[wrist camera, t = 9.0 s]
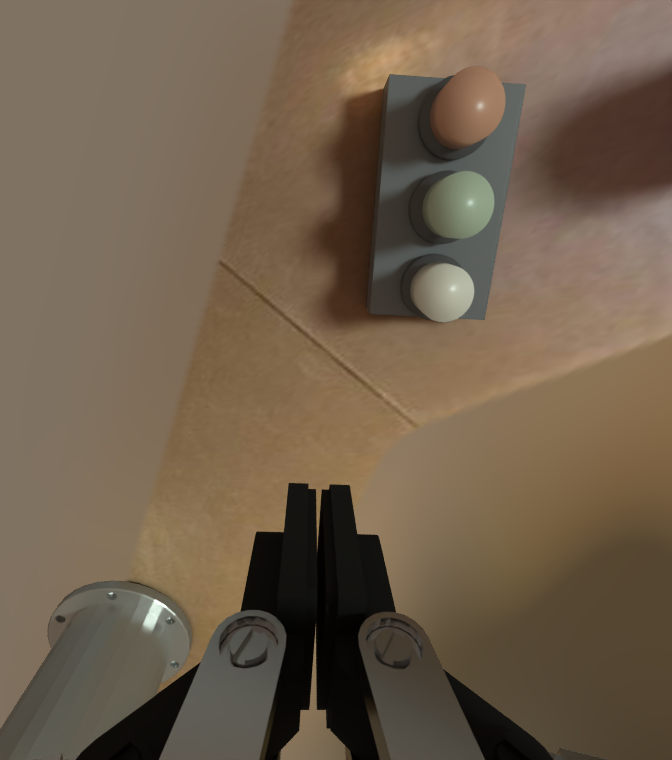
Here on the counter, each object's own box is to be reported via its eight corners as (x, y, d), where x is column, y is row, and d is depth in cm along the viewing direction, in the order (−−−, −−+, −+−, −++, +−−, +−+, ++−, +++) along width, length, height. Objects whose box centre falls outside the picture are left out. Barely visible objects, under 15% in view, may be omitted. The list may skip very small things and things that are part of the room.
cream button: (457, 315, 27) (469, 323, 25) (407, 313, 27) (414, 320, 24) (466, 263, 26) (478, 266, 24) (413, 260, 25) (421, 263, 23)
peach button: (483, 151, 24) (498, 144, 21) (426, 147, 23) (436, 139, 21) (494, 83, 22) (511, 68, 20) (434, 78, 22) (445, 63, 20)
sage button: (474, 239, 24) (488, 240, 22) (419, 235, 24) (428, 236, 22) (484, 177, 23) (499, 173, 21) (426, 173, 23) (436, 168, 21)
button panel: (472, 312, 30) (488, 322, 27) (366, 307, 30) (371, 316, 27) (507, 97, 26) (532, 79, 23) (383, 88, 26) (392, 69, 22)
